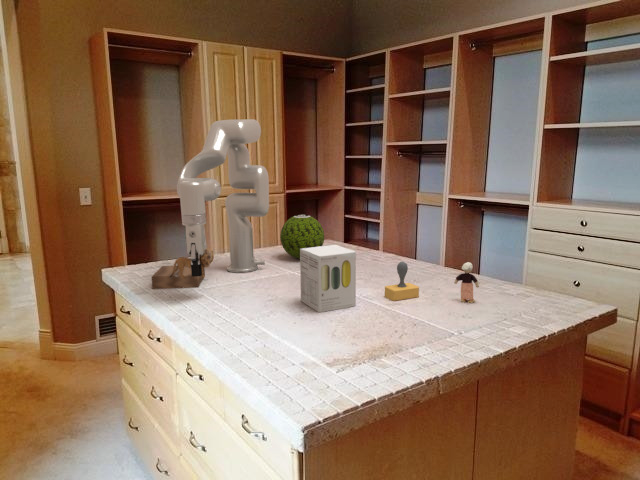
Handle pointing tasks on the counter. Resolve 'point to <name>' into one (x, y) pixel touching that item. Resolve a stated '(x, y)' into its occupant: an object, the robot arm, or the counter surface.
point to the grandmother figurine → (467, 283)
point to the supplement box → (328, 277)
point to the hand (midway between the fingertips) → (198, 273)
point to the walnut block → (175, 279)
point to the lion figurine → (186, 262)
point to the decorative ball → (301, 234)
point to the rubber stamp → (401, 286)
